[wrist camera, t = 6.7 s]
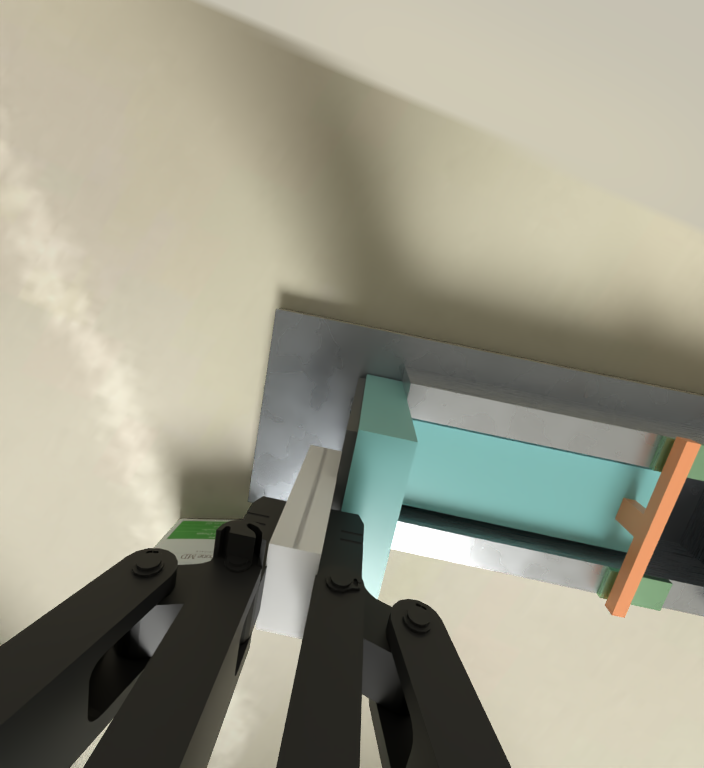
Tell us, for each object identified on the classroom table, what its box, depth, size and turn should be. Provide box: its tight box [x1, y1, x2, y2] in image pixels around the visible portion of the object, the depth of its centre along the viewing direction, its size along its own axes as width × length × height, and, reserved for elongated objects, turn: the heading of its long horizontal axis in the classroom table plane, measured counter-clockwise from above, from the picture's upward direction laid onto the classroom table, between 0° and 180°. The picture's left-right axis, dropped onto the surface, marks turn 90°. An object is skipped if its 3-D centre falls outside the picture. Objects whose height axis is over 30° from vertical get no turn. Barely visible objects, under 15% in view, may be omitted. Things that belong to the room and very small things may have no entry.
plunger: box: [331, 374, 701, 618], centre depth 18 cm, size 16×9×9 cm, turn 79°
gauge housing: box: [248, 308, 704, 616], centre depth 20 cm, size 27×12×7 cm, turn 79°
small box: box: [154, 519, 232, 565], centre depth 24 cm, size 6×6×5 cm
